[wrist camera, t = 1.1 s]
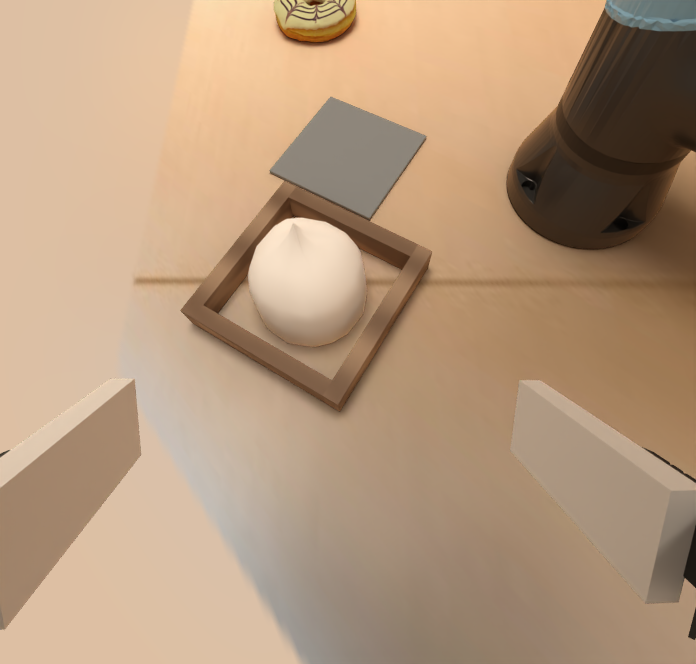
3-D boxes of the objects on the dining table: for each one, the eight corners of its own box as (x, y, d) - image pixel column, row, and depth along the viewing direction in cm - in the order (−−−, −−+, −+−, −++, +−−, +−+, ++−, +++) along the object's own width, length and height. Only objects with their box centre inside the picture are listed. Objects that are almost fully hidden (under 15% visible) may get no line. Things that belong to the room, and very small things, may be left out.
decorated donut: (276, 1, 60) (271, -30, 56) (352, -7, 60) (351, -38, 56) (278, 51, 56) (272, 21, 53) (359, 44, 56) (359, 13, 52)
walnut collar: (289, 199, 47) (284, 180, 44) (427, 267, 43) (432, 251, 40) (192, 323, 42) (180, 310, 39) (339, 411, 38) (337, 404, 35)
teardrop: (340, 364, 40) (330, 312, 29) (237, 323, 42) (190, 258, 31) (384, 268, 43) (390, 188, 32) (287, 234, 45) (261, 148, 34)
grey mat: (330, 99, 52) (330, 96, 52) (426, 138, 49) (426, 136, 49) (270, 173, 48) (269, 170, 48) (369, 220, 46) (369, 218, 45)
